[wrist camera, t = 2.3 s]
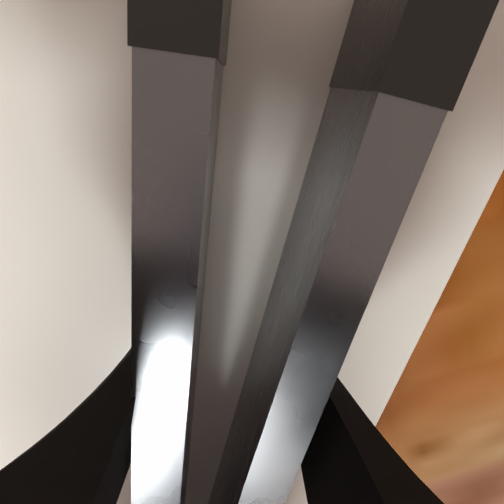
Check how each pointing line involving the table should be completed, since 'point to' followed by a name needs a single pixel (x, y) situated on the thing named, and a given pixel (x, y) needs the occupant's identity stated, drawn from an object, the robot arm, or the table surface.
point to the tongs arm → (170, 225)
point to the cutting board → (222, 210)
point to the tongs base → (345, 225)
